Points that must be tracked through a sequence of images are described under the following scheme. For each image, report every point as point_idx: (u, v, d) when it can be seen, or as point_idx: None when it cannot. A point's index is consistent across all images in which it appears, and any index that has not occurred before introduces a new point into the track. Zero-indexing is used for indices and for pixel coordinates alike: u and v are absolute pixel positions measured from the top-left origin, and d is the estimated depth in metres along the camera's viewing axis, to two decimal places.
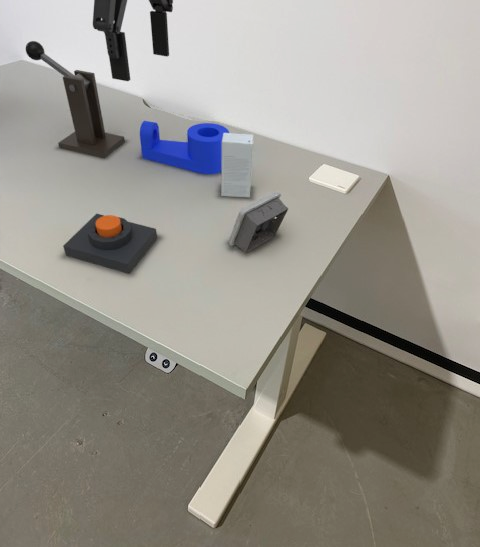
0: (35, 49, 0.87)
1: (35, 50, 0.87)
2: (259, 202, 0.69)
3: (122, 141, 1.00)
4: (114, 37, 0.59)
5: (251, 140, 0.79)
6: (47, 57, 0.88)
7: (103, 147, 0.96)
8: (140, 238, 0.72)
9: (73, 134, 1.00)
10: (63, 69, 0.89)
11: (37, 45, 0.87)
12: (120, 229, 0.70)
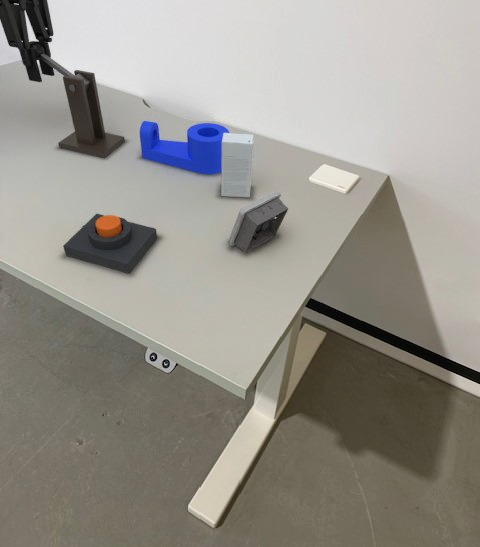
0: (35, 49, 0.87)
1: (35, 50, 0.87)
2: (259, 202, 0.69)
3: (122, 141, 1.00)
4: (25, 52, 0.85)
5: (251, 140, 0.79)
6: (47, 57, 0.88)
7: (103, 147, 0.96)
8: (140, 238, 0.72)
9: (73, 134, 1.00)
10: (63, 69, 0.89)
11: (37, 45, 0.87)
12: (120, 229, 0.70)
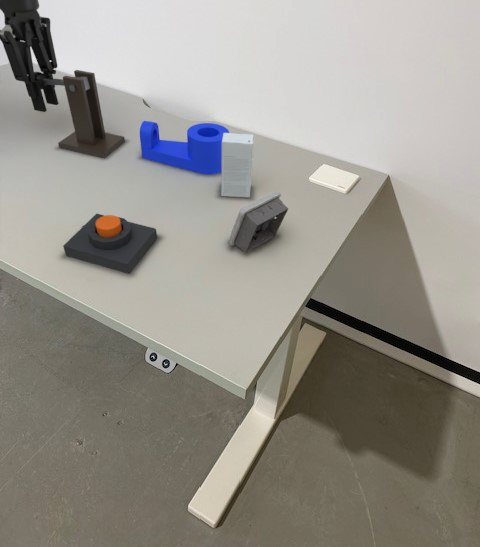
0: (35, 76, 0.91)
1: (36, 77, 0.91)
2: (259, 202, 0.69)
3: (122, 141, 1.00)
4: (31, 84, 0.90)
5: (251, 140, 0.79)
6: (48, 79, 0.92)
7: (103, 147, 0.96)
8: (140, 238, 0.72)
9: (73, 134, 1.00)
10: None
11: (36, 73, 0.91)
12: (120, 229, 0.70)
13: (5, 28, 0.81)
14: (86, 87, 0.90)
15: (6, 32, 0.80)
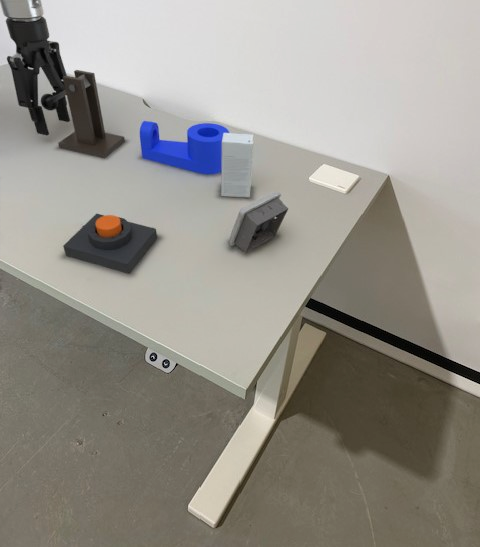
0: (44, 97, 0.94)
1: (45, 98, 0.94)
2: (259, 202, 0.69)
3: (122, 141, 1.00)
4: (34, 110, 0.92)
5: (251, 140, 0.79)
6: (55, 95, 0.94)
7: (103, 147, 0.96)
8: (140, 238, 0.72)
9: (73, 134, 1.00)
10: None
11: (44, 94, 0.94)
12: (120, 229, 0.70)
13: (16, 55, 0.84)
14: (86, 84, 0.89)
15: (16, 58, 0.83)
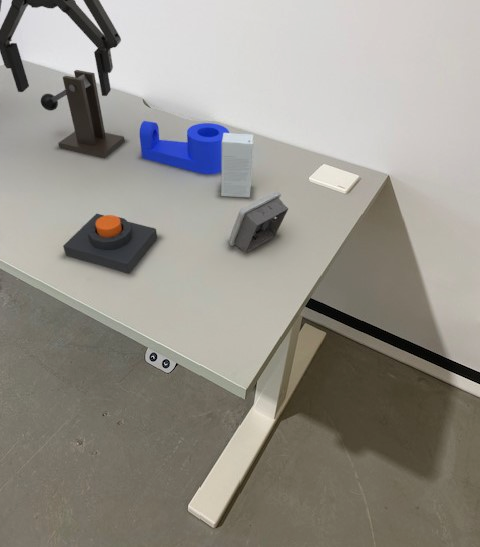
0: (44, 97, 0.94)
1: (45, 98, 0.94)
2: (259, 202, 0.69)
3: (122, 141, 1.00)
4: (0, 48, 0.64)
5: (251, 140, 0.79)
6: (55, 95, 0.94)
7: (103, 147, 0.96)
8: (140, 238, 0.72)
9: (73, 134, 1.00)
10: None
11: (44, 94, 0.94)
12: (120, 229, 0.70)
13: None
14: (86, 84, 0.89)
15: None
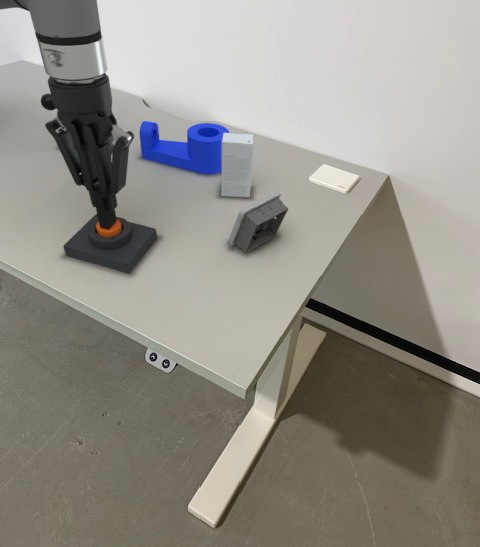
0: (44, 97, 0.94)
1: (45, 98, 0.94)
2: (259, 202, 0.69)
3: None
4: (89, 192, 0.65)
5: (251, 140, 0.79)
6: None
7: None
8: (140, 238, 0.72)
9: None
10: None
11: (44, 94, 0.94)
12: (120, 232, 0.70)
13: (56, 118, 0.59)
14: None
15: (46, 123, 0.59)
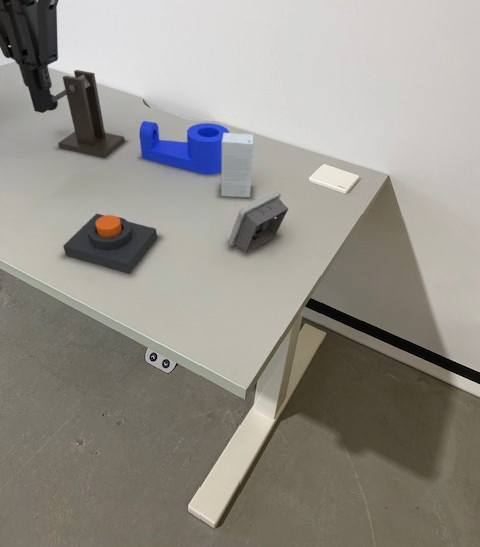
0: None
1: None
2: (259, 202, 0.69)
3: (122, 141, 1.00)
4: (20, 66, 0.61)
5: (251, 140, 0.79)
6: (55, 95, 0.94)
7: (103, 147, 0.96)
8: (140, 238, 0.72)
9: (73, 134, 1.00)
10: None
11: None
12: (120, 229, 0.70)
13: None
14: (86, 84, 0.89)
15: None
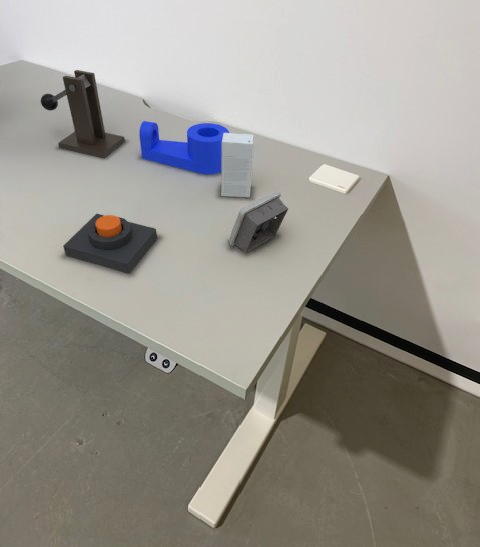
0: (44, 97, 0.94)
1: (45, 98, 0.94)
2: (259, 202, 0.69)
3: (122, 141, 1.00)
4: None
5: (251, 140, 0.79)
6: (55, 95, 0.94)
7: (103, 147, 0.96)
8: (140, 238, 0.72)
9: (73, 134, 1.00)
10: None
11: (44, 94, 0.94)
12: (120, 229, 0.70)
13: None
14: (86, 84, 0.89)
15: None
